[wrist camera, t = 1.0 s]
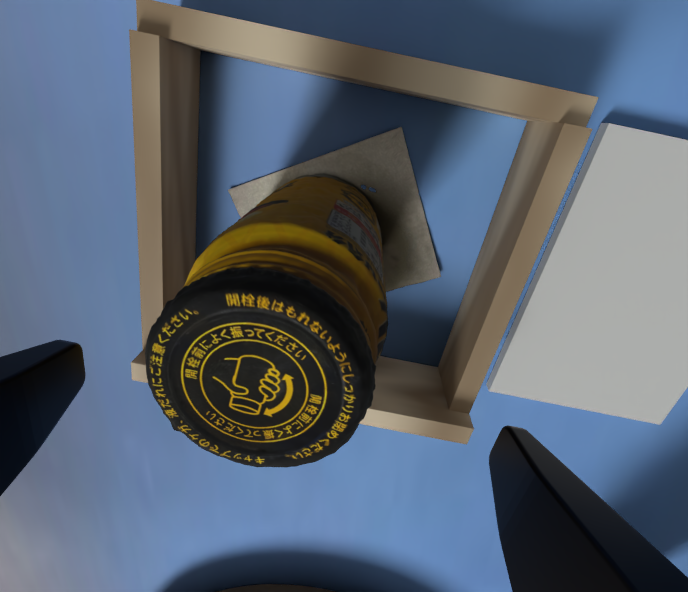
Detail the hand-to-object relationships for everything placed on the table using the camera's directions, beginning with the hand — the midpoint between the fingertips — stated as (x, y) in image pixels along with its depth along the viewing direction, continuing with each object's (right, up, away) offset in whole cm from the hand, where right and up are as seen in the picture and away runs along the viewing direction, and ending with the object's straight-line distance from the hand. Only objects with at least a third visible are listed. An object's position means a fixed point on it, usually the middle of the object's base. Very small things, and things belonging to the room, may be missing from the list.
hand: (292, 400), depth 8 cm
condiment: (+1, +5, +11) cm, 12 cm away
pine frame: (+1, +5, +11) cm, 12 cm away
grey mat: (+15, +2, +11) cm, 19 cm away
